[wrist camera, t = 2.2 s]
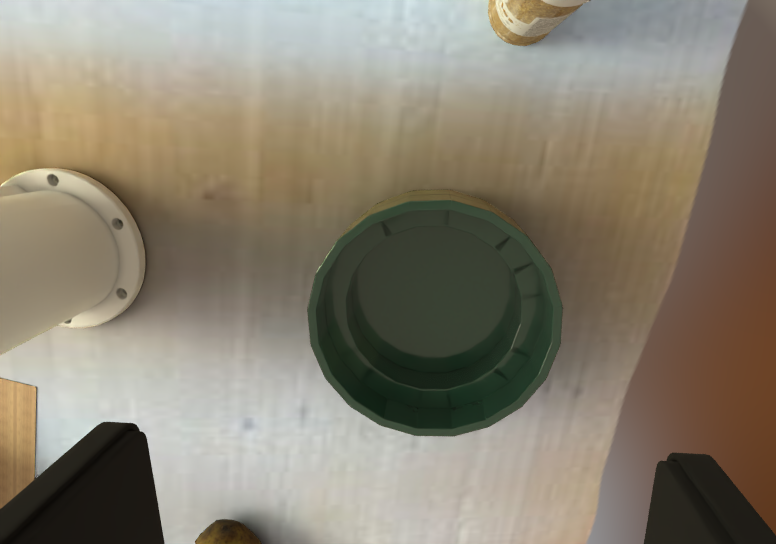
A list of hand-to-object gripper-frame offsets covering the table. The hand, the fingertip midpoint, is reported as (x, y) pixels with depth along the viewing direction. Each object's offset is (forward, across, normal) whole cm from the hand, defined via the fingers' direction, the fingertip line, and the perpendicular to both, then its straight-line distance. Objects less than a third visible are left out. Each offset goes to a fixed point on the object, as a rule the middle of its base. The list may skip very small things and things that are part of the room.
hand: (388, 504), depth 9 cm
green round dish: (+28, 0, +6) cm, 29 cm away
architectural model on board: (+28, +45, +25) cm, 58 cm away
